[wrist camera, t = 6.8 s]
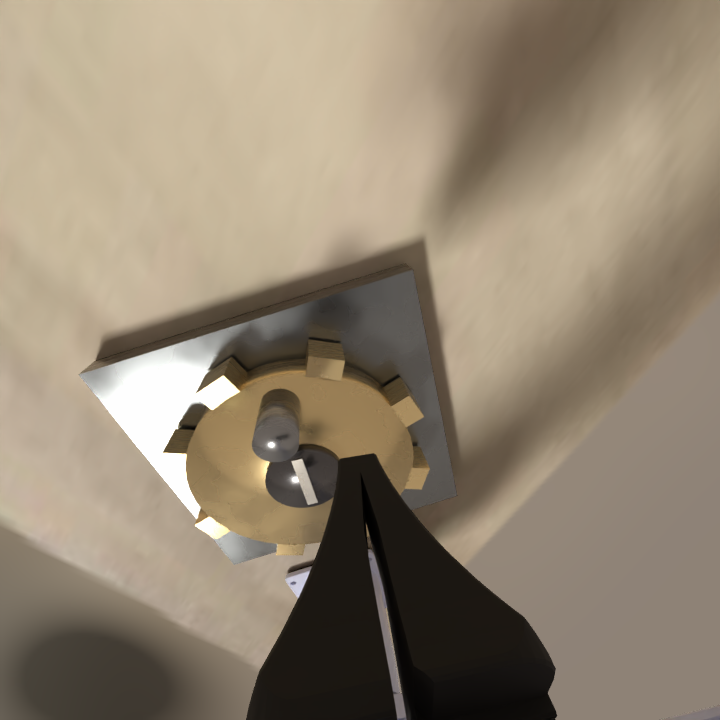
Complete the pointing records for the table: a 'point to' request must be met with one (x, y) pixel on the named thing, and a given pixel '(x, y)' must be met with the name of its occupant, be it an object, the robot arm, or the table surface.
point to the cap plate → (277, 343)
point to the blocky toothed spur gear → (289, 444)
